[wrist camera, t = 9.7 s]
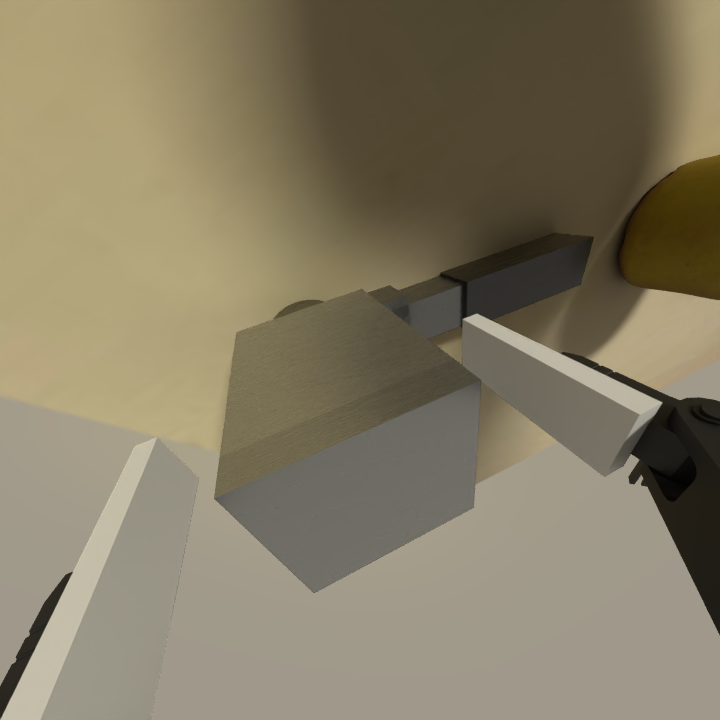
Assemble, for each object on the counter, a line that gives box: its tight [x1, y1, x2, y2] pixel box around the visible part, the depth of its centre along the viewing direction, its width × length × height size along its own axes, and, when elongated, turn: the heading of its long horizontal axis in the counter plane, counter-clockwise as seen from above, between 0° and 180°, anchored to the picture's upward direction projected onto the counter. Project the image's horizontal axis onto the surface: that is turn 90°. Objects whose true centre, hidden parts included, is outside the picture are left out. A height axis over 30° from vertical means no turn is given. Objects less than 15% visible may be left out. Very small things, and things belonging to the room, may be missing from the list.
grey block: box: [214, 289, 481, 593], centre depth 10 cm, size 6×6×8 cm
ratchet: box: [274, 233, 594, 339], centre depth 14 cm, size 21×5×6 cm, turn 103°
